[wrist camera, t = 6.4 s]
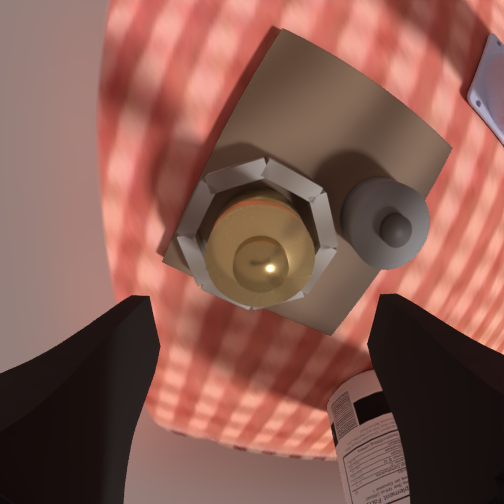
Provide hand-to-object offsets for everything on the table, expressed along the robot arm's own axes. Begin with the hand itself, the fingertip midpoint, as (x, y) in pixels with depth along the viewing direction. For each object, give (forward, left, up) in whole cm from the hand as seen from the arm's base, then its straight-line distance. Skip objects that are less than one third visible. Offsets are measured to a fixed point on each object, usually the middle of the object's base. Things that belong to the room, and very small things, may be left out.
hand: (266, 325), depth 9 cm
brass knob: (0, 0, -9) cm, 9 cm away
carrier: (-2, -3, -10) cm, 11 cm away
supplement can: (-17, +10, -10) cm, 22 cm away
